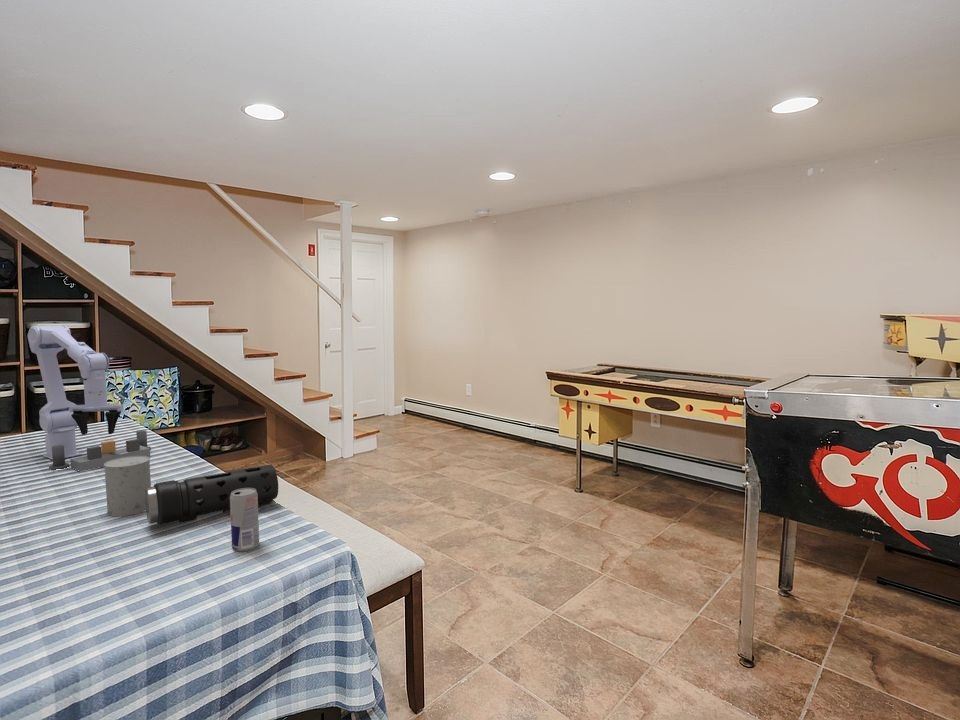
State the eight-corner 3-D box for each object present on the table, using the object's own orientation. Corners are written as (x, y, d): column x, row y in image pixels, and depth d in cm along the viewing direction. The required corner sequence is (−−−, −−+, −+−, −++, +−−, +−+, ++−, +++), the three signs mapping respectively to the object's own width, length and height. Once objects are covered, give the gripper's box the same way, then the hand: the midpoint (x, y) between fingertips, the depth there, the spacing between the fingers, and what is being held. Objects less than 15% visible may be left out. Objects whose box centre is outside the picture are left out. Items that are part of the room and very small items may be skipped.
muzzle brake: (279, 507, 134) (278, 468, 133) (151, 536, 117) (148, 491, 116) (268, 496, 142) (267, 459, 141) (146, 522, 124) (143, 480, 123)
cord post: (131, 451, 184) (130, 431, 183) (146, 448, 188) (145, 429, 187) (138, 453, 181) (137, 433, 180) (153, 450, 185) (152, 431, 184)
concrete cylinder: (103, 518, 126) (100, 469, 125) (110, 505, 134) (107, 458, 133) (150, 512, 130) (148, 463, 129) (154, 499, 139) (151, 454, 138)
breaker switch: (101, 452, 171) (101, 442, 170) (113, 450, 173) (112, 440, 173) (104, 453, 170) (103, 443, 169) (115, 451, 172) (115, 441, 172)
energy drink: (237, 541, 115) (235, 487, 113) (262, 540, 115) (260, 487, 114) (227, 552, 109) (225, 496, 108) (254, 551, 110) (252, 495, 109)
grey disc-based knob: (46, 469, 164) (44, 447, 163) (65, 465, 168) (64, 443, 167) (52, 471, 161) (51, 449, 160) (72, 467, 165) (70, 445, 164)
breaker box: (71, 468, 164) (69, 448, 164) (140, 453, 181) (139, 435, 180) (80, 472, 161) (78, 451, 160) (150, 457, 177) (149, 438, 177)
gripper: (62, 394, 161) (65, 437, 162) (114, 393, 164) (117, 436, 165) (75, 390, 168) (77, 432, 169) (125, 389, 170) (127, 430, 172)
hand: (98, 433), depth 168 cm, fingers open, 7 cm apart
